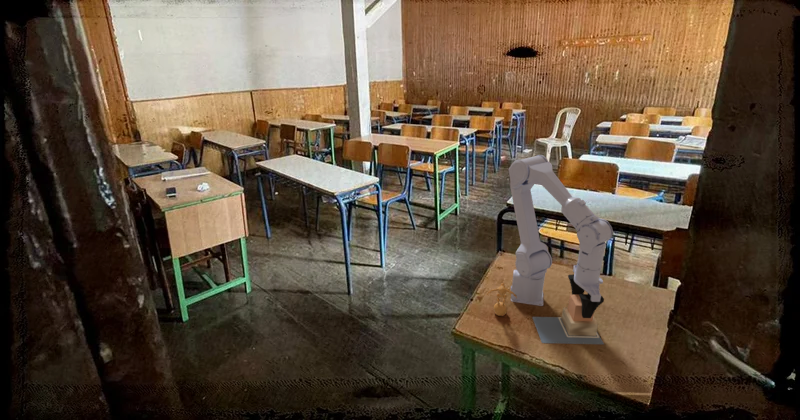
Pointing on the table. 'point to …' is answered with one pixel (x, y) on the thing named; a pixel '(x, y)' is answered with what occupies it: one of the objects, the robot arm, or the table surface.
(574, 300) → the terracotta cube
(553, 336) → the mat
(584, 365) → the table surface
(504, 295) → the figurine
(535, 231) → the robot arm
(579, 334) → the maple base block
